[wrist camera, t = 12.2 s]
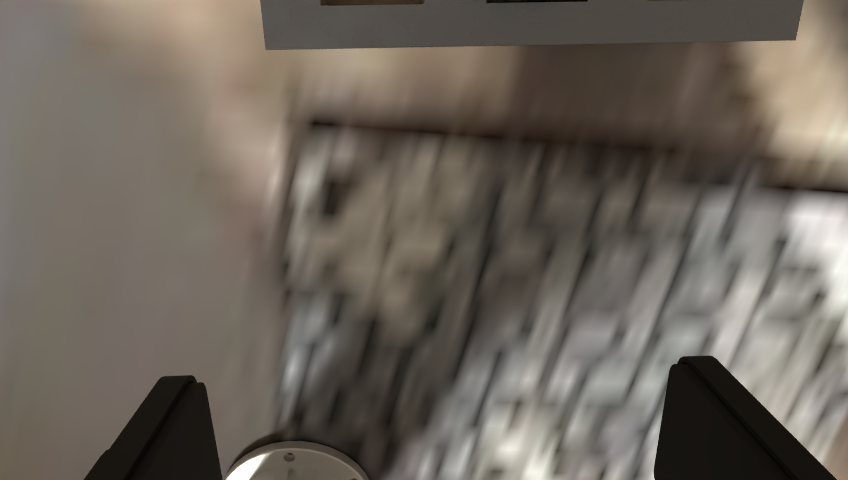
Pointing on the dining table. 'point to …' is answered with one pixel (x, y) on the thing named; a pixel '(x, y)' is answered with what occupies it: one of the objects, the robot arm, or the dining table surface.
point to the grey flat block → (524, 23)
